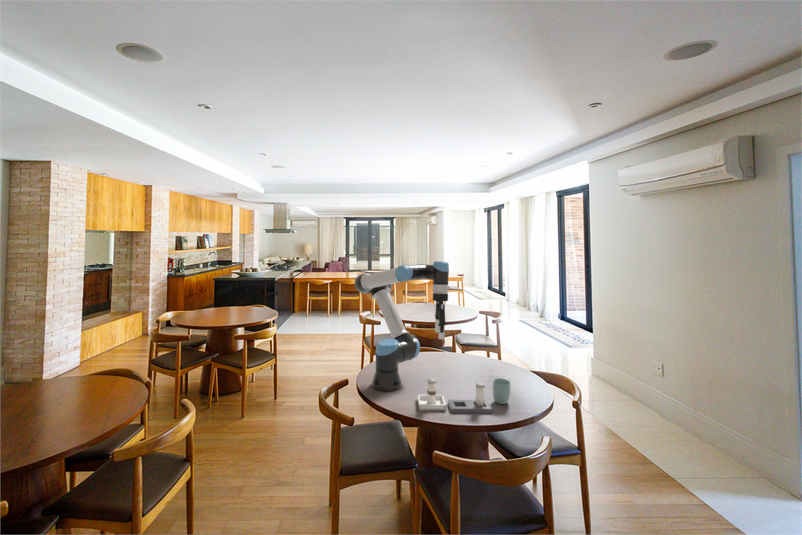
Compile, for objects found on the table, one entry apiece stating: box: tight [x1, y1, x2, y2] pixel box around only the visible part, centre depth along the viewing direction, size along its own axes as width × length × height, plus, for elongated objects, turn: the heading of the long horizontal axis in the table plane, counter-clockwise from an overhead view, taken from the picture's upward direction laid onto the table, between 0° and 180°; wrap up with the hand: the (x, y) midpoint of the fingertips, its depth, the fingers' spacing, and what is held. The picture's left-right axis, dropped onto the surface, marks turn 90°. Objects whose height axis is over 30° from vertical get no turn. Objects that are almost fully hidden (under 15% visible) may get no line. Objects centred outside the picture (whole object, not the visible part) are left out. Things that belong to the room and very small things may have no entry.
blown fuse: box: [426, 377, 437, 404], centre depth 160 cm, size 4×4×11 cm
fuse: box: [475, 382, 486, 407], centre depth 157 cm, size 4×4×11 cm
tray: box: [417, 394, 447, 412], centre depth 160 cm, size 12×11×2 cm
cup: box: [492, 378, 511, 405], centre depth 163 cm, size 8×8×10 cm
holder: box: [448, 399, 494, 414], centre depth 157 cm, size 18×9×2 cm, turn 91°
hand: (439, 335), depth 172 cm, fingers open, 13 cm apart
